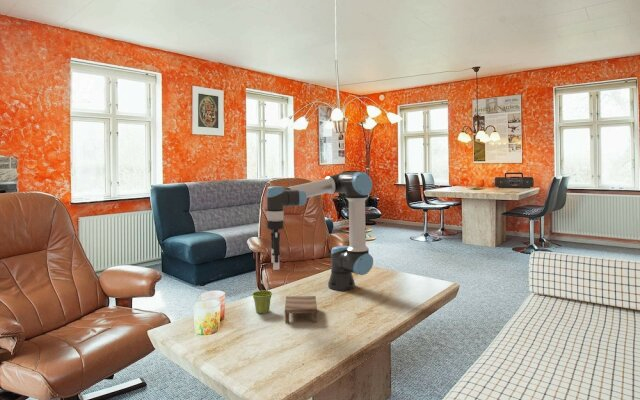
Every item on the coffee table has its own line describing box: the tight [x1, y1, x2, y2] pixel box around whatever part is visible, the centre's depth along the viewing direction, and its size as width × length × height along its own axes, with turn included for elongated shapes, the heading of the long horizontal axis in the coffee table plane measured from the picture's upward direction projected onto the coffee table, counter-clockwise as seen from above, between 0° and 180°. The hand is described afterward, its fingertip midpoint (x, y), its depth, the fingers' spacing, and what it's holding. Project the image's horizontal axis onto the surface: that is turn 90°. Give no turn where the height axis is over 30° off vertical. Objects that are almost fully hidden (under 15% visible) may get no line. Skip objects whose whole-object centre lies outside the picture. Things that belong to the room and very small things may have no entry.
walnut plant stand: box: [284, 295, 318, 324], centre depth 182 cm, size 18×14×6 cm
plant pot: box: [251, 290, 273, 314], centre depth 187 cm, size 9×9×9 cm
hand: (275, 265), depth 185 cm, fingers open, 13 cm apart
